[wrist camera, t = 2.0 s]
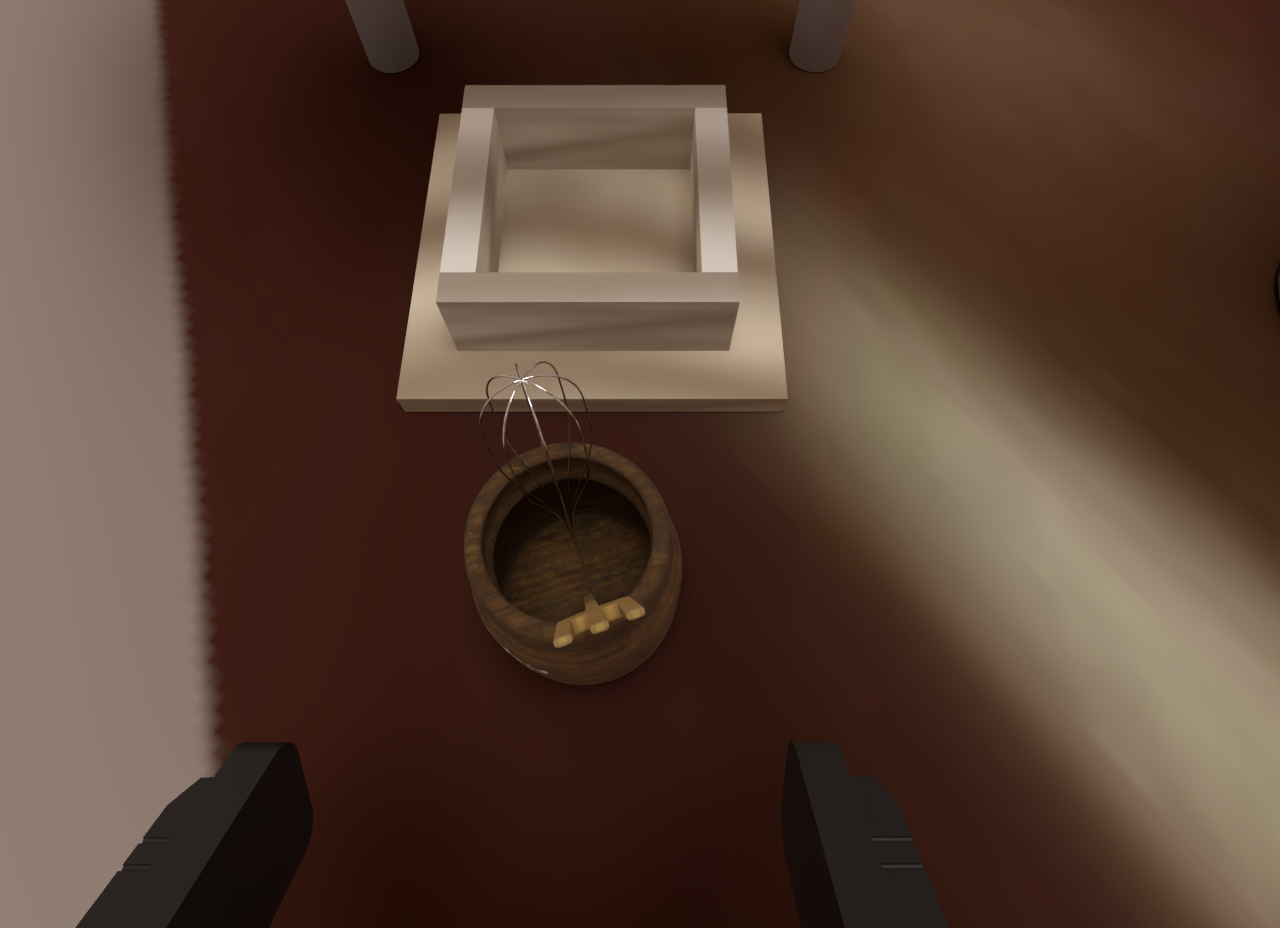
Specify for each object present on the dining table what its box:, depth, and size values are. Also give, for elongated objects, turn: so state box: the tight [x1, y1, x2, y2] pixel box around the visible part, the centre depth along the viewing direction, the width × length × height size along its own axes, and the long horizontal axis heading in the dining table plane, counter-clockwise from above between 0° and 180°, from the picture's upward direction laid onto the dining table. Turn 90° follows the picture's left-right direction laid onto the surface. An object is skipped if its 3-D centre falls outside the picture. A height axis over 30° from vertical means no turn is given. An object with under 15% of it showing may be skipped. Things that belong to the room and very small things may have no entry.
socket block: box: [396, 85, 788, 412], centre depth 27 cm, size 14×14×4 cm
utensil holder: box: [464, 361, 682, 685], centre depth 18 cm, size 6×6×12 cm
